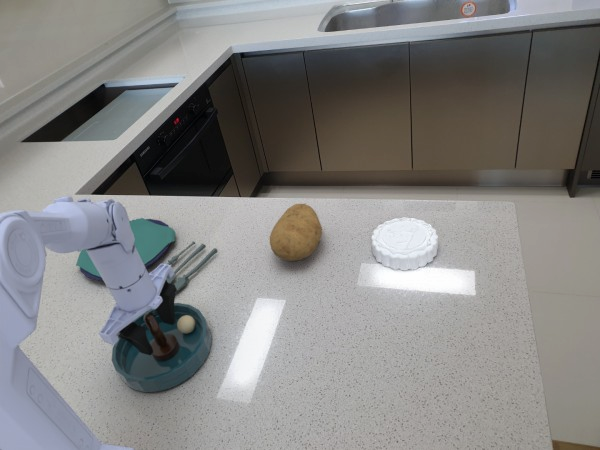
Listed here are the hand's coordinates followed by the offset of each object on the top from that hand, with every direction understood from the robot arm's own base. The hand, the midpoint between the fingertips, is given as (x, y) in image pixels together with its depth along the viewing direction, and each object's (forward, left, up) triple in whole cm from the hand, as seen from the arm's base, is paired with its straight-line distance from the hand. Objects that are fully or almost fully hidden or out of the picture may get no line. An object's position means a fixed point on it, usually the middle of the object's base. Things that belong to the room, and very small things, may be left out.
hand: (158, 337), depth 73 cm
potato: (+31, -4, -4) cm, 32 cm away
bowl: (0, 0, -4) cm, 4 cm away
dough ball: (+5, 0, -2) cm, 5 cm away
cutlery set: (+13, +24, -4) cm, 28 cm away
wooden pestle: (0, 0, -3) cm, 3 cm away
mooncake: (+40, -22, -4) cm, 46 cm away
